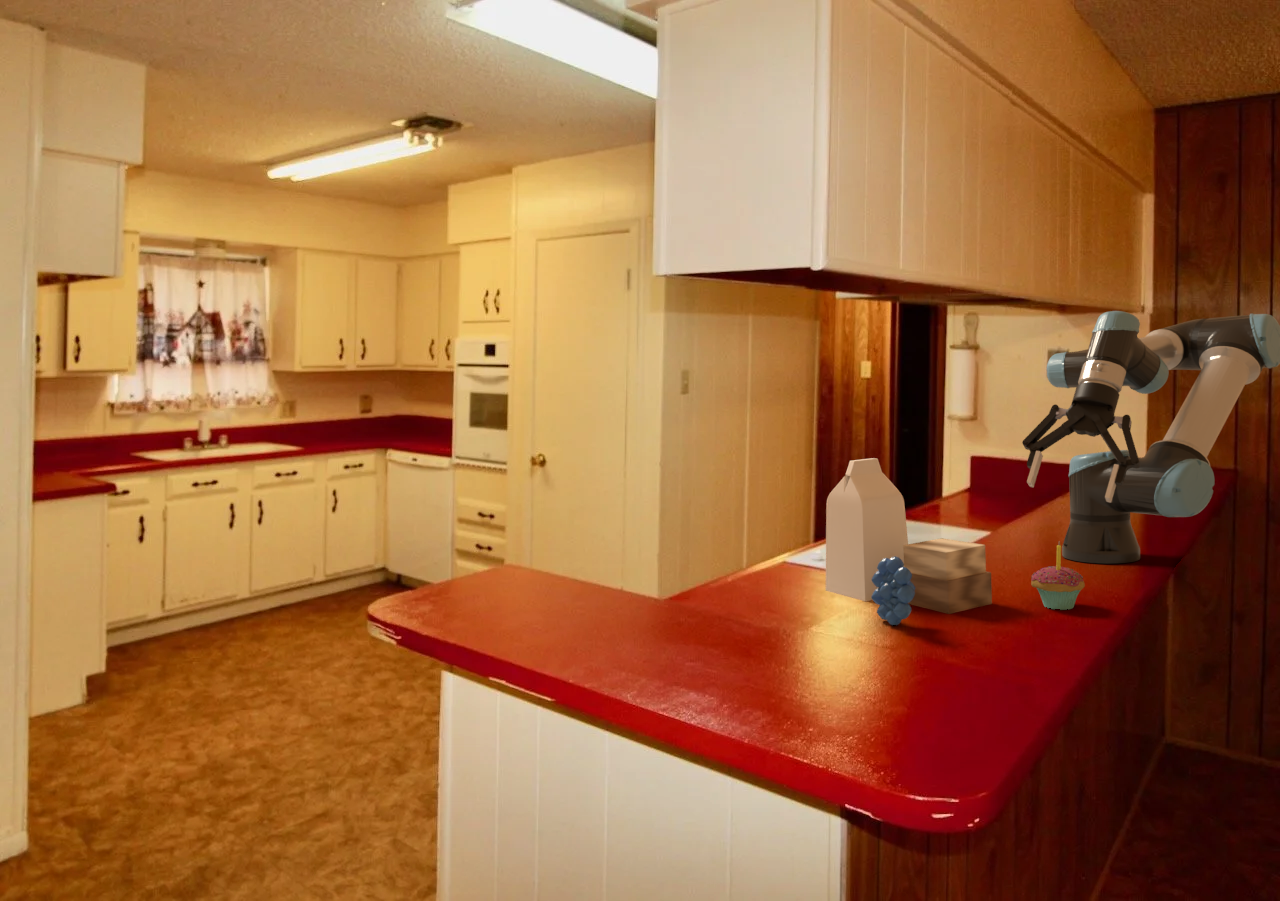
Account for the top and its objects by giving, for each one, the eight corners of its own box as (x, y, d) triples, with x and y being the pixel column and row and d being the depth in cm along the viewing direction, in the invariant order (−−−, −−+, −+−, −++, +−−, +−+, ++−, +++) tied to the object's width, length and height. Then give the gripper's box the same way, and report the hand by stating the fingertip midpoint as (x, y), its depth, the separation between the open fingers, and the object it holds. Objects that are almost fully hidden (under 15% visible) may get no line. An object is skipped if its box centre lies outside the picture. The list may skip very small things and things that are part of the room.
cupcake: (1091, 612, 151) (1089, 543, 150) (1037, 612, 152) (1036, 543, 152) (1076, 600, 159) (1075, 534, 158) (1026, 600, 161) (1024, 535, 160)
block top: (942, 564, 169) (941, 538, 168) (985, 572, 160) (985, 544, 160) (904, 571, 164) (903, 545, 164) (946, 580, 155) (945, 552, 155)
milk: (865, 601, 167) (860, 463, 165) (825, 590, 177) (820, 460, 175) (912, 591, 172) (908, 458, 170) (871, 581, 182) (867, 455, 180)
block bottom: (944, 594, 170) (943, 563, 169) (992, 605, 160) (991, 572, 160) (902, 603, 165) (901, 571, 164) (948, 615, 155) (947, 581, 154)
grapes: (935, 631, 145) (933, 558, 144) (898, 635, 143) (896, 562, 142) (898, 614, 156) (896, 547, 155) (863, 618, 155) (861, 550, 154)
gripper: (1026, 372, 173) (995, 472, 170) (1171, 389, 158) (1140, 500, 154) (1034, 388, 179) (1004, 485, 175) (1174, 406, 164) (1144, 513, 160)
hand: (1067, 492), depth 165 cm, fingers open, 13 cm apart
